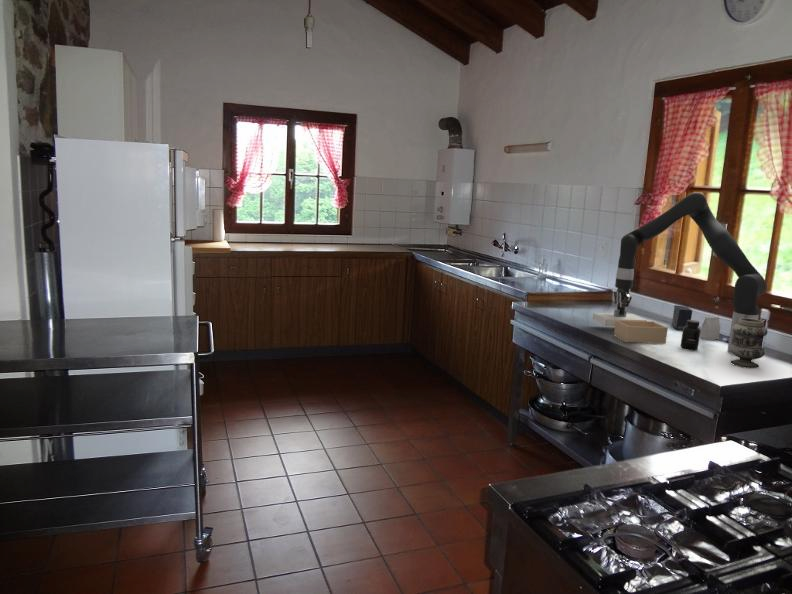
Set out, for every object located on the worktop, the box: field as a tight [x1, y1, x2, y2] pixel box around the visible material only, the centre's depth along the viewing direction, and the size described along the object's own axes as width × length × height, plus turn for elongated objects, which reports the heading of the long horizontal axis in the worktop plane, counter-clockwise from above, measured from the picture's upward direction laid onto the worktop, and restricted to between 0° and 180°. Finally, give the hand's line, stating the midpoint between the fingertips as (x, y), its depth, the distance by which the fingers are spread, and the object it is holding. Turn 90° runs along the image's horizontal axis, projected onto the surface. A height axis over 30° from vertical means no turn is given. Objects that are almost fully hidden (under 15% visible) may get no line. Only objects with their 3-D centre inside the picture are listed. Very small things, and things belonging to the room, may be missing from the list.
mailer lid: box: [592, 309, 648, 328], centre depth 292 cm, size 14×20×6 cm
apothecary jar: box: [729, 318, 768, 369], centre depth 243 cm, size 12×12×18 cm
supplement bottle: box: [680, 319, 701, 351], centre depth 265 cm, size 7×7×12 cm
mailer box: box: [613, 320, 668, 344], centre depth 277 cm, size 12×18×7 cm, turn 97°
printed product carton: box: [700, 316, 721, 341], centre depth 285 cm, size 4×7×10 cm, turn 101°
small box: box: [670, 304, 693, 331], centre depth 304 cm, size 11×6×10 cm, turn 168°
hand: (620, 314), depth 292 cm, fingers closed on mailer lid
